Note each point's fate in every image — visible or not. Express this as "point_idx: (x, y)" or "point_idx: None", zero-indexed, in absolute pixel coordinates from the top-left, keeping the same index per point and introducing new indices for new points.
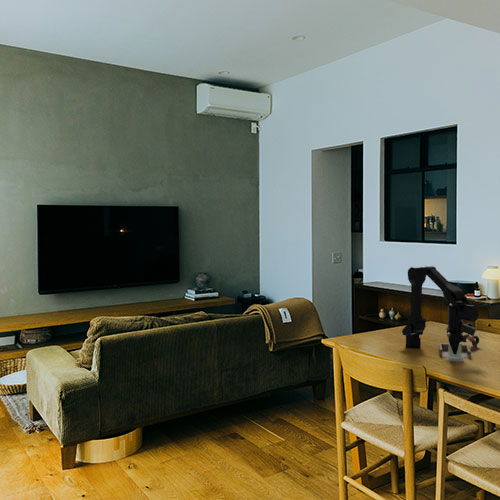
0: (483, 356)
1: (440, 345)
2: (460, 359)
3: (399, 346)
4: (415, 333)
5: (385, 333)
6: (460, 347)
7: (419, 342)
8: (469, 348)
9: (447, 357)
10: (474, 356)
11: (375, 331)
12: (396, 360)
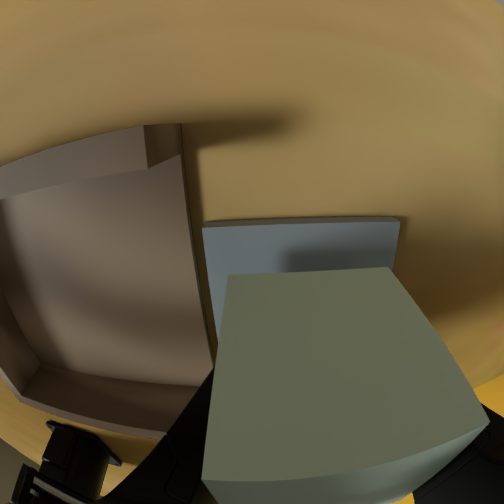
0: (33, 33)
1: (63, 413)
2: (314, 253)
3: None
4: (56, 490)
5: (3, 434)
6: (451, 375)
7: (71, 455)
8: None
9: None
10: (49, 103)
11: (8, 443)
12: None
